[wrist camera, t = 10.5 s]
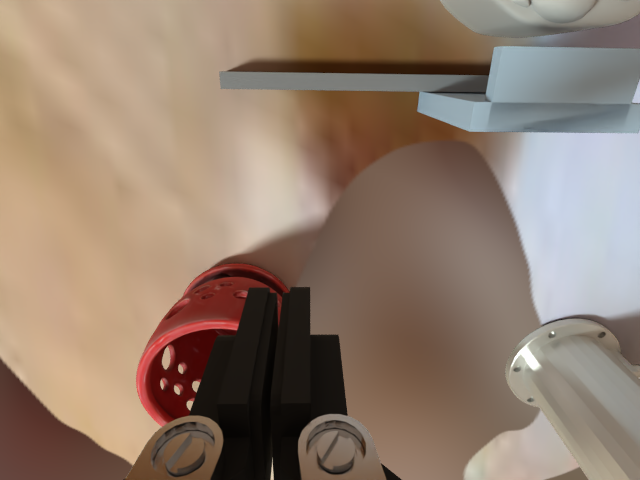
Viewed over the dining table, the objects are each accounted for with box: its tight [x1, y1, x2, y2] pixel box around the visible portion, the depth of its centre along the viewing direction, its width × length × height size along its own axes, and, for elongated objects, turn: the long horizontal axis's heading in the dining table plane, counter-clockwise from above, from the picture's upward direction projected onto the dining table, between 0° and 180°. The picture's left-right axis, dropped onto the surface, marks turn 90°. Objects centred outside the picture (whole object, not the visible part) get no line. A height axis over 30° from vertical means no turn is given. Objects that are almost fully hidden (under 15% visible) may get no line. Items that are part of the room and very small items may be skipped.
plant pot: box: [136, 264, 290, 427], centre depth 34 cm, size 13×13×12 cm
